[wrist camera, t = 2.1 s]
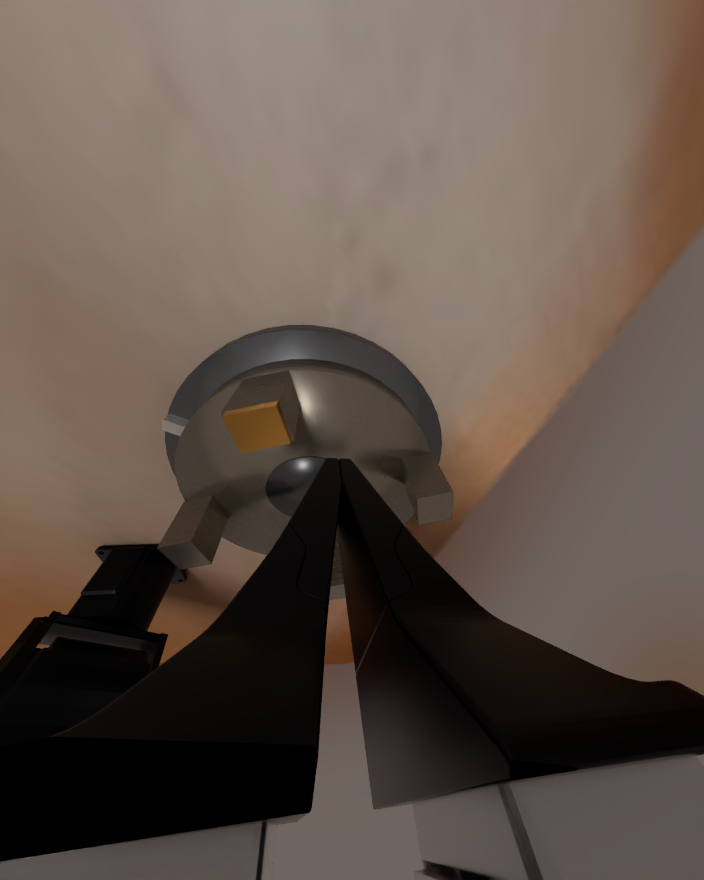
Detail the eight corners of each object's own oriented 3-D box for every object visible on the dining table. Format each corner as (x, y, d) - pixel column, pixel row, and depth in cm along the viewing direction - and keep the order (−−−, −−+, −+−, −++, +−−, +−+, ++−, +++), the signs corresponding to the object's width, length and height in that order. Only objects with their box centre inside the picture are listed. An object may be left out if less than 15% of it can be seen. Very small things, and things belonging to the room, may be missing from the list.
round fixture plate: (424, 519, 24) (449, 583, 20) (248, 552, 25) (231, 622, 20) (419, 330, 15) (465, 365, 10) (130, 392, 15) (42, 452, 10)
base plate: (407, 531, 28) (413, 550, 26) (209, 536, 26) (201, 557, 24) (470, 336, 17) (488, 345, 15) (127, 312, 14) (99, 320, 12)
